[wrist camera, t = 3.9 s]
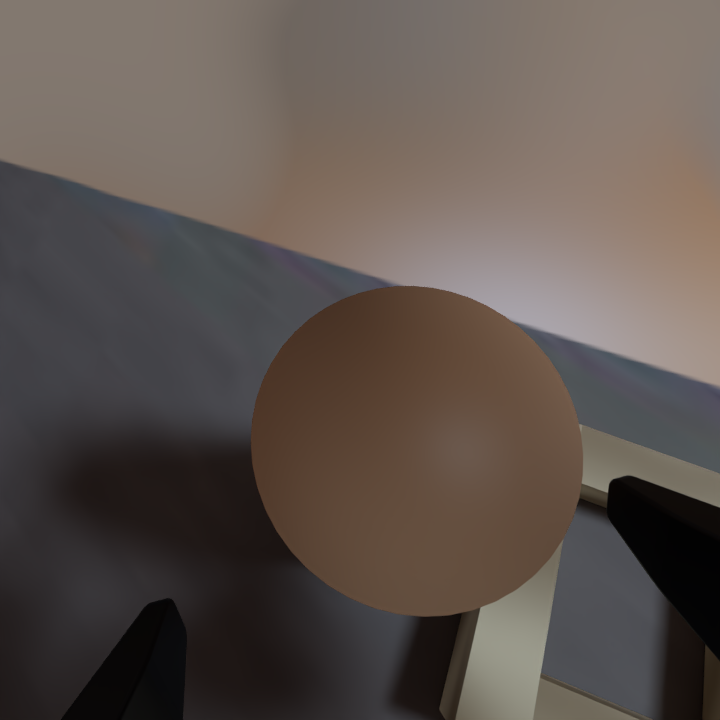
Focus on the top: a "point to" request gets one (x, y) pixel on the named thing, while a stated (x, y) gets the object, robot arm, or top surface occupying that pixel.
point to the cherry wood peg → (417, 451)
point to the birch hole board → (533, 609)
